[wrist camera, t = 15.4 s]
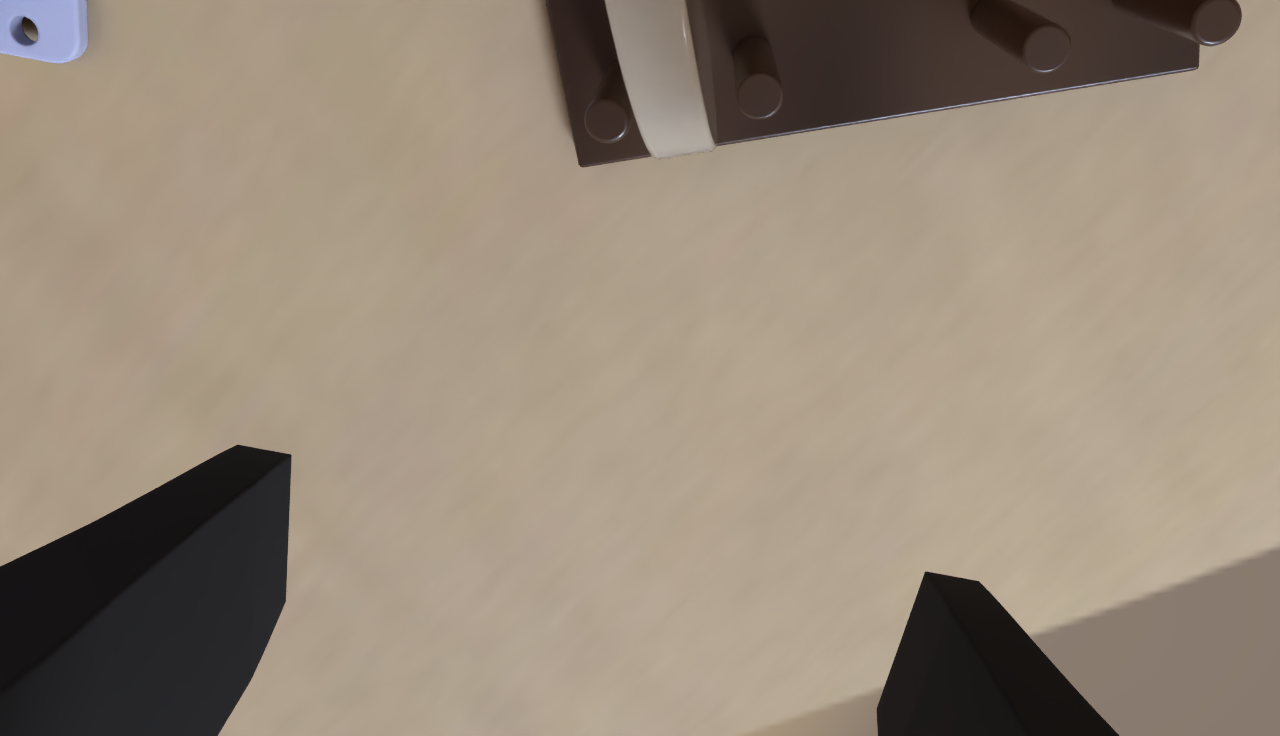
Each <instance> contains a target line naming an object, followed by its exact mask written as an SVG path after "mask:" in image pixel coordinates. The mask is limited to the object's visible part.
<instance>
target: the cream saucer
mask: <svg viewBox="0 0 1280 736" xmlns="http://www.w3.org/2000/svg"><path fill="white" fill-rule="evenodd" d="M605 5H606V9H607V14H608V19H609V23H610V28H611V32H612V36H613V40H614V44H615V48H616V53H617V57H618V61H619V65H620V69H621V72H622V76H623V80H624V84H625V87H626V91H627V95H628V98H629V101H630V105H631V108H632V111H633V115H634V118H635V121H636V123H637V126H638V129H639V132H640V134H641V137H642V139H643V141H644V144H645V146H646V147H647V149H648V151H649V152H650V154H651V156H652V157H654V158H655V159H659V160H660V159H666V158H673V157H679V156H685V155H692V154H698V153H704V152H711V151H712V150H714V149H715V148H716V144H717V121H716V108H715V97H714V87H713V77H712V68H711V59H710V50H709V42H708V33H707V25H706V17H705V9H704V1H703V0H605Z"/></svg>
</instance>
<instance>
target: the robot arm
mask: <svg viewBox="0 0 1280 736" xmlns="http://www.w3.org/2000/svg"><path fill="white" fill-rule="evenodd" d="M24 17H27V18H29V19H31V21H32V22H33V23H34V24H35V25H36V27H37V30H38V39H37V41H36V42H35V41H33V40H31V39H29V38H28V36H27V35H26V34H25V33H24V30H23V27H22V21H23V18H24ZM87 43H88V22H87V0H0V53H3V54H8V55H14V56H19V57H24V58H29V59H35V60H40V61H45V62H51V63H66V62H69V61H72V60H74V59H76V58H78V57H80V56H82V54H83V53H84V51H85V50H86V49H87ZM290 479H291V455H290V454H285V453H280V452H274V451H269V450H263V449H258V448H252V447H247V446H242V445H236V446H234V447H232V448H230V449H228V450H226V451H224V452H222V453H220V454H218V455H216V456H214V457H212V458H210V459H209V460H207V461H205V462H203V463H201V464H199V465H198V466H196V467H194V468H192V469H190V470H189V471H187V472H185V473H183V474H181V475H180V476H178V477H176V478H174V479H172V480H170V481H169V482H167V483H165V484H163V485H161V486H160V487H158V488H156V489H154V490H152V491H150V492H149V493H147V494H145V495H143V496H141V497H139V498H137V499H136V500H134V501H132V502H130V503H128V504H126V505H124V506H122V507H121V508H119V509H117V510H115V511H113V512H111V513H109V514H107V515H106V516H104V517H102V518H100V519H98V520H96V521H94V522H92V523H90V524H88V525H86V526H84V527H82V528H80V529H78V530H76V531H74V532H72V533H70V534H68V535H65V536H63V537H61V538H59V539H57V540H55V541H53V542H51V543H49V544H47V545H45V546H43V547H40V548H38V549H36V550H34V551H32V552H30V553H28V554H26V555H24V556H22V557H20V558H17V559H15V560H13V561H11V562H9V563H7V564H5V565H3V566H0V736H218V734H219V732H220V731H221V729H222V727H223V726H224V724H225V722H226V721H227V719H228V718H229V716H230V714H231V713H232V711H233V709H234V708H235V706H236V704H237V703H238V701H239V699H240V698H241V696H242V694H243V693H244V691H245V689H246V687H247V686H248V684H249V682H250V681H251V679H252V677H253V675H254V672H255V670H256V668H257V666H258V664H259V662H260V659H261V657H262V655H263V653H264V651H265V648H266V646H267V644H268V642H269V639H270V637H271V635H272V632H273V630H274V628H275V625H276V623H277V621H278V618H279V616H280V613H281V611H282V609H283V606H284V604H285V602H286V580H287V555H288V530H289V504H290ZM877 724H878V736H1119V735H1118V734H1117V733H1116V732H1115V731H1114V730H1113V728H1112V727H1111V726H1110V725H1109V724H1108V723H1107V722H1106V721H1105V720H1104V719H1103V718H1102V717H1101V716H1100V715H1099V714H1098V713H1097V712H1096V711H1095V709H1093V707H1092V706H1091V705H1090V704H1089V703H1088V702H1087V701H1086V700H1085V699H1084V698H1083V696H1082V695H1081V694H1080V693H1079V692H1078V691H1077V690H1076V689H1075V688H1074V687H1073V685H1072V684H1071V683H1070V682H1069V681H1068V680H1067V679H1066V678H1065V677H1064V675H1063V674H1062V673H1061V672H1060V671H1059V670H1058V669H1057V668H1056V667H1055V665H1054V664H1053V663H1052V662H1051V661H1050V660H1049V659H1048V657H1047V656H1046V655H1045V654H1044V653H1043V652H1042V651H1041V649H1040V648H1039V647H1038V646H1037V645H1036V644H1035V643H1034V641H1033V640H1032V639H1031V638H1030V637H1029V636H1028V635H1027V634H1026V632H1025V631H1024V630H1023V629H1022V628H1021V627H1020V626H1019V624H1018V623H1017V622H1016V621H1015V620H1014V619H1013V618H1012V616H1011V615H1010V614H1009V613H1008V612H1007V611H1006V610H1005V609H1004V607H1003V606H1002V605H1001V604H1000V603H999V602H998V601H997V600H996V599H995V598H994V596H993V595H992V594H991V593H990V592H989V591H988V590H987V589H986V588H985V587H984V586H983V585H982V584H981V583H980V582H979V581H974V580H969V579H964V578H958V577H953V576H947V575H942V574H936V573H931V572H926V571H925V574H924V577H923V580H922V582H921V585H920V588H919V591H918V594H917V597H916V599H915V602H914V605H913V608H912V611H911V613H910V616H909V619H908V622H907V625H906V628H905V630H904V633H903V636H902V639H901V642H900V645H899V647H898V650H897V653H896V656H895V659H894V662H893V664H892V667H891V670H890V673H889V676H888V679H887V681H886V684H885V687H884V690H883V693H882V695H881V698H880V701H879V704H878V707H877Z"/></svg>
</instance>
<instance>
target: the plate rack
mask: <svg viewBox="0 0 1280 736" xmlns="http://www.w3.org/2000/svg"><path fill="white" fill-rule="evenodd" d="M545 1H546V6H547V11H548V16H549V21H550V26H551V31H552V35H553V40H554V45H555V50H556V55H557V60H558V65H559V70H560V75H561V80H562V85H563V89H564V94H565V99H566V104H567V109H568V114H569V119H570V124H571V129H572V134H573V139H574V143H575V148H576V153H577V158H578V163H579V165H580V167H589V166H595V165H602V164H608V163H614V162H620V161H627V160H633V159H639V158H646V157H652V156H651V154H650V152H649V151H648V149H647V147H646V146H645V144H644V141H643V139H642V137H641V134H640V132H639V129H638V126H637V123H636V121H635V118H634V115H633V111H632V108H631V105H630V101H629V98H628V95H627V91H626V87H625V84H624V80H623V76H622V72H621V69H620V65H619V61H618V57H617V53H616V48H615V44H614V40H613V36H612V32H611V28H610V23H609V19H608V14H607V9H606V5H605V0H545ZM703 1H704V9H705V17H706V25H707V33H708V42H709V50H710V59H711V68H712V77H713V87H714V97H715V108H716V121H717V144H716V146H721V145H727V144H734V143H740V142H746V141H752V140H759V139H765V138H771V137H778V136H784V135H790V134H796V133H803V132H809V131H815V130H822V129H828V128H834V127H840V126H847V125H853V124H859V123H866V122H872V121H878V120H884V119H891V118H897V117H903V116H910V115H916V114H922V113H928V112H935V111H941V110H947V109H954V108H960V107H966V106H972V105H979V104H985V103H991V102H998V101H1004V100H1010V99H1016V98H1023V97H1029V96H1035V95H1042V94H1048V93H1054V92H1060V91H1067V90H1073V89H1079V88H1086V87H1092V86H1098V85H1104V84H1111V83H1117V82H1123V81H1130V80H1136V79H1142V78H1148V77H1155V76H1161V75H1167V74H1174V73H1180V72H1186V71H1192V70H1196V69H1198V67H1199V48H1200V44H1201V45H1204V46H1215V45H1219V44H1222V43H1224V42H1225V41H1227V40H1228V39H1230V38H1231V37H1232V36H1233V35H1234V34H1235V33H1236V31H1237V30H1238V28H1239V26H1240V23H1241V17H1242V12H1241V8H1240V5H1239V3H1238V2H1237V1H1236V0H703Z"/></svg>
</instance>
